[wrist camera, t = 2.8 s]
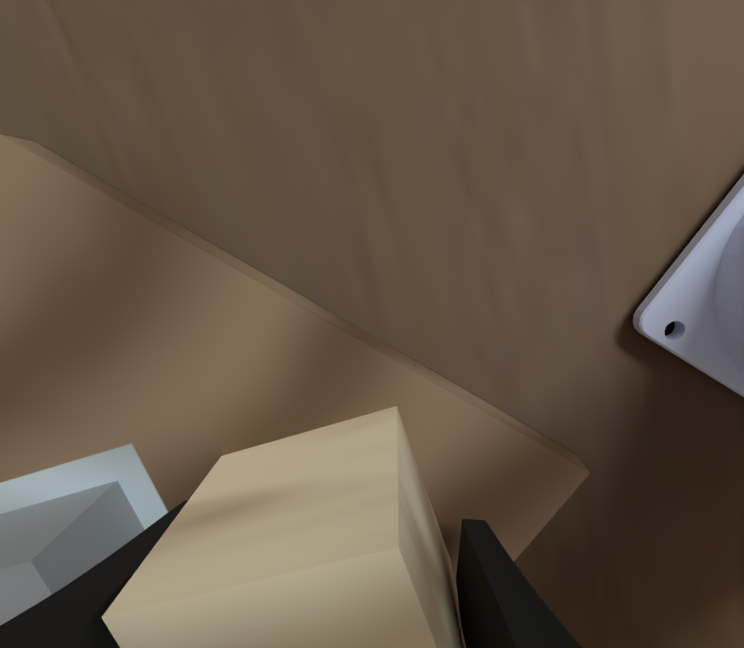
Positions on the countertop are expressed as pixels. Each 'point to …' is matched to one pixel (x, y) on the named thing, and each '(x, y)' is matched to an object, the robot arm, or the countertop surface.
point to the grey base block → (60, 543)
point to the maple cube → (300, 552)
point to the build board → (210, 367)
